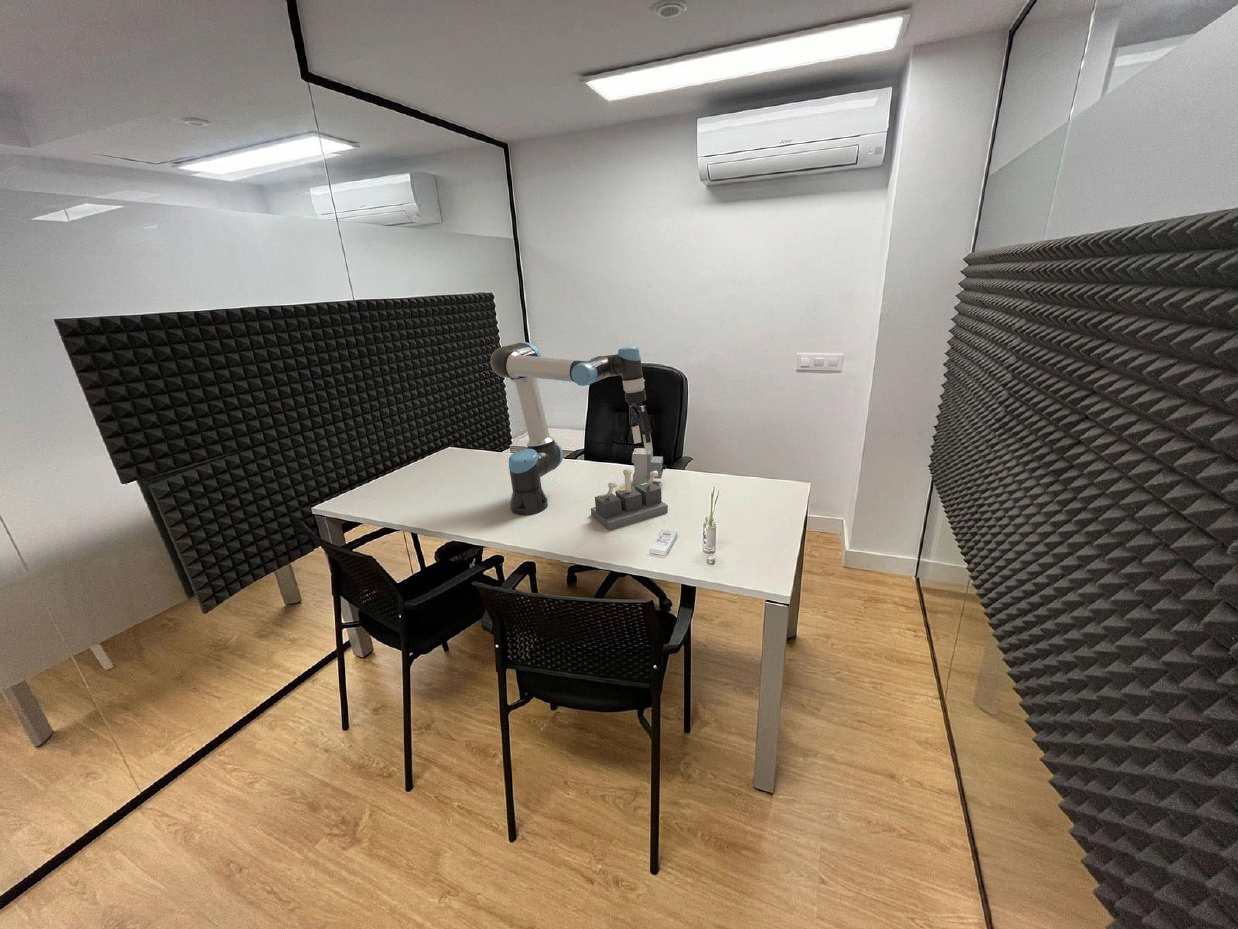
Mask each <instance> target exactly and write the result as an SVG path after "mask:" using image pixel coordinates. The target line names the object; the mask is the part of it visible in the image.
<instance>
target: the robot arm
mask: <svg viewBox="0 0 1238 929" xmlns="http://www.w3.org/2000/svg"><path fill="white" fill-rule="evenodd" d="M489 363H490V366H491V369H492V371H493V373H495V374H496V375H497V376H499V377H502V378H504V379H505V378H507V379H508V378H509V379H510V381H512V382H513V383H514V384H515V386H516V391H517V396H518V399H519V403H520V407H521V410H522V415H523V420H524V423H525V426H526V431H527V435H528V439H529V440H528V442H527V444H526V446H527V448H524V449H521V450H516V451H514V452H513V453H512V454H510V456H509V457H508V470H509V475H510V476H509V478H510V482H511V488H512V493H511V499H510V504H509V506H510V510H511V512H512V513H514V514H516V515H519V516H520V515H521V516H524V515H525V516H527V515H529V516H530V515H534V514H538V513H541V512H542V511H544V510H545V509H547V507H548V498H547V496H546V494H545V492H544V490H543V487H542V480H541V478H542V477H543V476H545V475H547V474H549V473H550V472H552V471H554V470H555V469H557V468H558V467H559V466H560V465H561V464H562V462H563V458H564V452H563V449H562V447H561V445H560V444H559V443H558V442H557V441H555V437H553V436H552V435H550V430H549V428H548V427H549V426H548V423H547V418H546V415H545V414H546V413H545V410H544V406H543V401H542V397H541V393H540V389H539V388H540V387H539V384H538V379H544V380H551V381H552V380H553V381H561V382H562V381H563V382H569V383H571V382H572V383H575V384H576V385H577V386H580V387H585V386H590V385H592V384H594V383H597V382H598V381H601V380H603V379H606V378H608V377H616V376H621V379H622V386H623V391H624V399H625V402H626V403H627V404H628V416H629V417H628V420H629V421H628V423H629V425H630V426H631V431H632V437H633V444H639V443H642V442H643V447H644V448H645V452H647V451H651V450H653V451H654V449H653V442H652V436H651V435H652V434H651V433H653V429H652V426H651V421H650V418H649V414H648V412H647V411H648V410H647V406H646V405H643V402H645V401H646V400H647V394H646V390H645V382H646V380H645V379H644V376H643V375H644V374H643V368H642V357H641V354H640V350H639V347H638V346H637V345H632V346H624V347H621V348H618V350H617V353H616V354H610V355H609V354H608V355H598V356H593V357H592V358H590V359H589V360H576V359H568V358H558V357H557V358H555V357H546V356H545V357H543V356H542V355H541V353H540V351H539V348H537V346H536V345H534V344H532V343H529V342H527V341H523V342H516V343H513V344H509V345H503V346H500V347H498V348H496V349H495V350H494V351H493V352H492V354H491V357H490V362H489ZM640 427H641V428H640ZM640 429H641V430H642V432H640V431H641V430H640ZM641 435H642V438H641ZM642 439H643V441H642Z"/></svg>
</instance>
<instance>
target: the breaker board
mask: <svg viewBox="0 0 1238 929" xmlns="http://www.w3.org/2000/svg"><path fill="white" fill-rule="evenodd" d="M650 476H651V477H650V479H649V481H648V483H643V484H640V485H637V486H636V485H634V486H635V488H633V487H632V486H631V492H628V493H627V492H626V491H625V488H622V489H618V490H616V491H615V494H614V493H613V490H614V489H615V488H617V487H618V484H617V482H616V481H612V482H611V481H610V482H608V483H607V486H608V490H607V492H606V493H604V494H603V493H602V494H600V495H597V496H594V504H595V506H593V507H590V515H591V516H592V517H593V518H594V519H596V521H597V522H599V523H600V524H601V525H602V526H603V527H605V528H606V529H607V530H608V531H611V530H614V529H618V528H621V527H624V526H627V525H631V524H634V523H637V522H640V521H644V520H648V519H650V518H652V517H656V516H659V515H662V514H663V515H664V514H666V513H668V512H669V509H668V508H669V507H668V504H667V503H665V502H664V501H662V499H663V498H662V488H661V487H660V486H658V485H657V484H655V483H652V481H653V482H654V480H655V479H654V477H656V476H658V472H657V471H652V472H650ZM653 479H654V480H653Z"/></svg>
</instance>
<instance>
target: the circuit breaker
mask: <svg viewBox="0 0 1238 929" xmlns="http://www.w3.org/2000/svg"><path fill="white" fill-rule="evenodd" d="M631 463H632V464H633V469H634V472H633V475H632V484H633V485H632V486H637V485H640V484H643V483H648V481H649V479H650V477H651V476H650V472H652V471H657V472H658V476H656V477H654V479H653V481H652V483H653V482H654V480H655V479H656V480H658V479H662V477H663V473H664V470H665V471H666V469H667V464H664V456H657V455H655V456H654V449H653V450H651V451H647V452H645V447H644V448H642V447H641V448H639V447H638V448H634V450H633V452H632V455H631ZM653 484H654V483H653Z"/></svg>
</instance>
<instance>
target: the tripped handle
mask: <svg viewBox="0 0 1238 929" xmlns="http://www.w3.org/2000/svg"><path fill="white" fill-rule="evenodd" d="M622 471H623V472H622V473H623V476H624V489H625V491H626V492H627V493H628V492H631V487H632V479H631V478H632V476H631V475H632V472H633V471H632V469H631V468H626V469H623V470H622Z"/></svg>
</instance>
